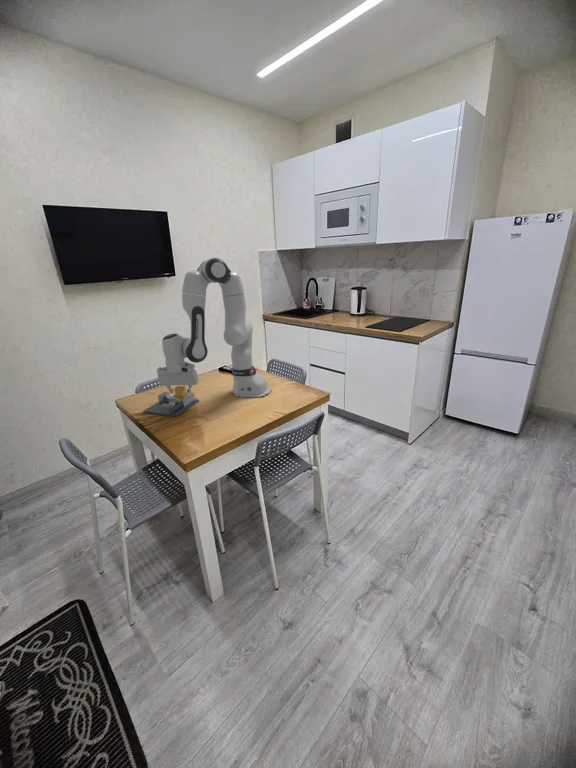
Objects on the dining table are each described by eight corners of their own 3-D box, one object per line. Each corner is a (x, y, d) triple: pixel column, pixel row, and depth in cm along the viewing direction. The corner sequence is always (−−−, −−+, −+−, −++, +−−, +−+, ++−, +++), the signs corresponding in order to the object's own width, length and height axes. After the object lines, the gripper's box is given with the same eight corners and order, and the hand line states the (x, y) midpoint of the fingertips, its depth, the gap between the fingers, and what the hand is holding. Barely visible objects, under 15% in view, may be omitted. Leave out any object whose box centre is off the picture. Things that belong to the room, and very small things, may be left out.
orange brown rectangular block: (187, 401, 166) (185, 385, 163) (184, 404, 162) (181, 388, 159) (180, 401, 167) (177, 385, 163) (177, 404, 163) (174, 388, 160)
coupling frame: (199, 401, 168) (197, 391, 166) (176, 417, 151) (174, 406, 149) (168, 397, 175) (166, 388, 173) (143, 412, 158) (141, 402, 156)
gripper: (153, 369, 156) (158, 394, 161) (192, 368, 153) (197, 394, 158) (159, 365, 161) (164, 390, 166) (197, 364, 159) (201, 390, 164)
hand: (180, 392), depth 162 cm, fingers open, 8 cm apart
